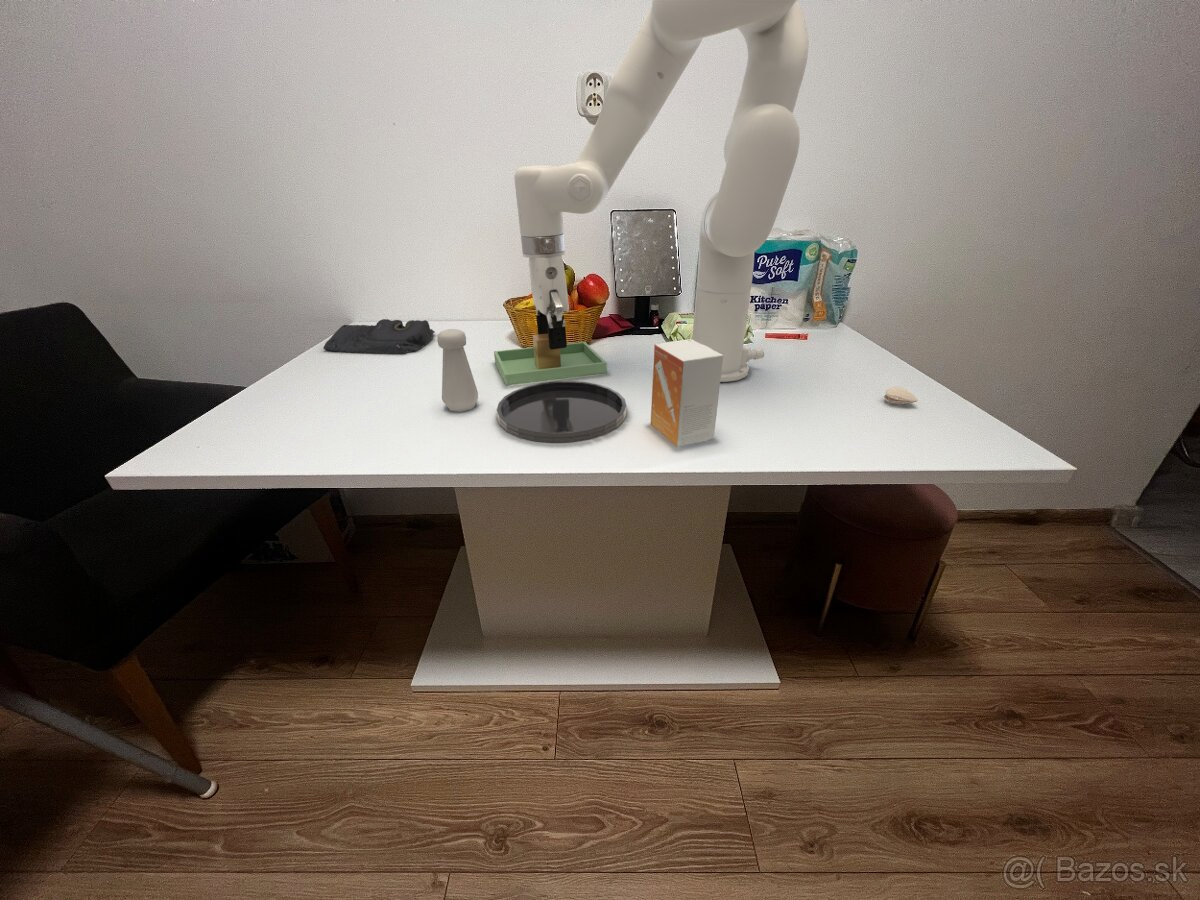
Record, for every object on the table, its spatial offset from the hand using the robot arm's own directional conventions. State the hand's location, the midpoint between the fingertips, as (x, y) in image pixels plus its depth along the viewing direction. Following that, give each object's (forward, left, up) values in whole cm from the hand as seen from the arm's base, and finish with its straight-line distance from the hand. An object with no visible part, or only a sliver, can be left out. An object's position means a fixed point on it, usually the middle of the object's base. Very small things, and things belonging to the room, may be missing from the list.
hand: (552, 341), depth 98 cm
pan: (+4, +22, -6) cm, 23 cm away
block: (+1, 0, -5) cm, 5 cm away
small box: (-11, +34, -6) cm, 36 cm away
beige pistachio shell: (-50, +36, -6) cm, 62 cm away
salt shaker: (+19, +14, -6) cm, 24 cm away
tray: (+1, 0, -6) cm, 6 cm away
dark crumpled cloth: (+33, -30, -6) cm, 45 cm away
